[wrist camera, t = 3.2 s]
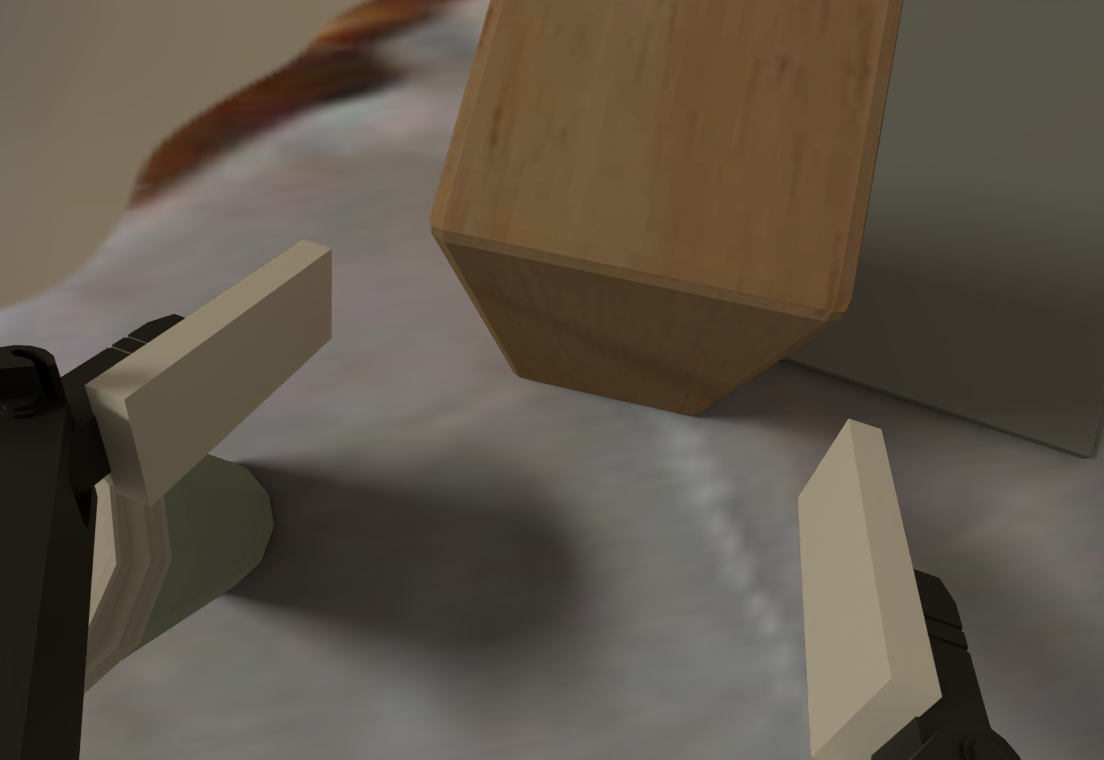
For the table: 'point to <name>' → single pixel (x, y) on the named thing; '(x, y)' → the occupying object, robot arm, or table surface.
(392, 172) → the table surface
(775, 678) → the table surface
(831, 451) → the robot arm
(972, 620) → the table surface
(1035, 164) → the mat
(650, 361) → the wooden block
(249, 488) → the disposable coffee cup
